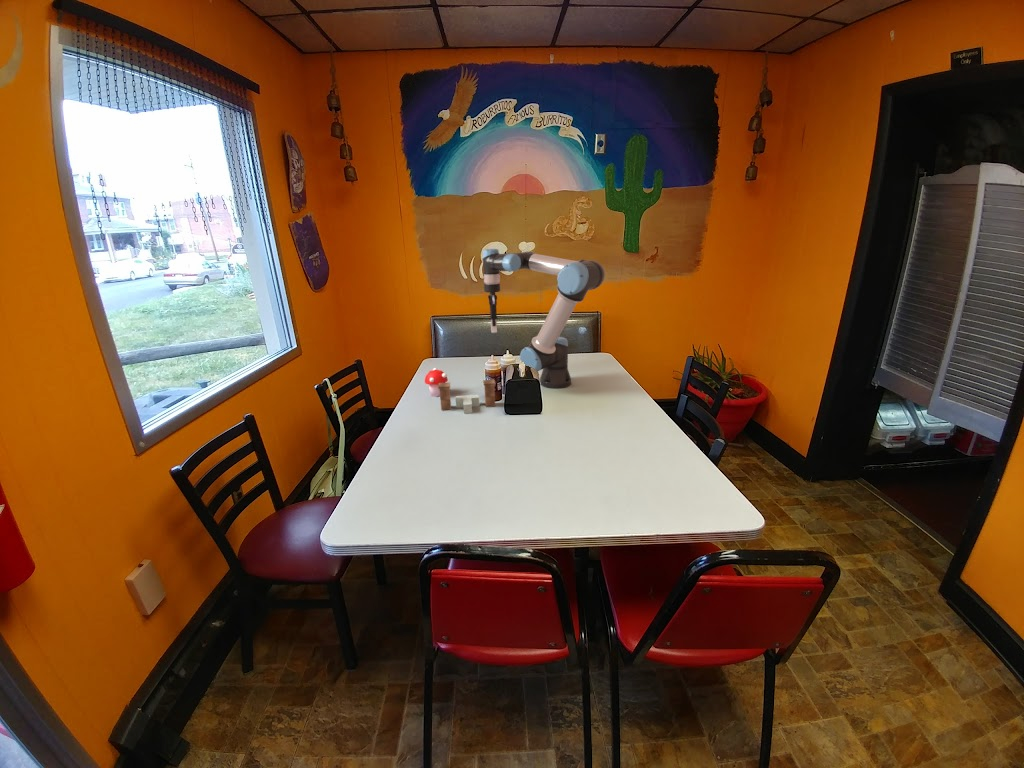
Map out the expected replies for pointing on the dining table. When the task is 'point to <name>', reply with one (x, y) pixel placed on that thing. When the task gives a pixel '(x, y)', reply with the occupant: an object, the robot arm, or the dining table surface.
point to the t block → (467, 402)
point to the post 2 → (489, 393)
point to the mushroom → (435, 381)
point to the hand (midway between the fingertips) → (494, 332)
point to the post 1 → (445, 396)
